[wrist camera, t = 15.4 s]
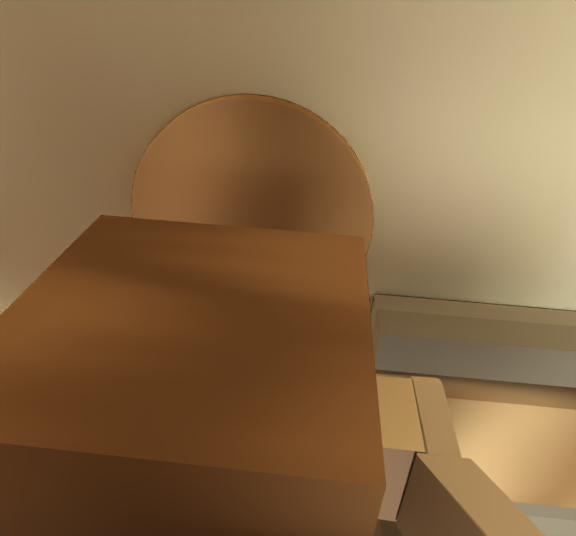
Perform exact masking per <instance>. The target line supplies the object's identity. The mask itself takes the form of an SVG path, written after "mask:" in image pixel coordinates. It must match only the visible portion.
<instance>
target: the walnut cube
mask: <svg viewBox="0 0 576 536" xmlns="http://www.w3.org/2000/svg"><path fill="white" fill-rule="evenodd" d="M385 489H386V478H385V467H384V456H383V445H382V434H381V423H380V412H379V401H378V391H377V380H376V369H375V358H374V347H373V336H372V325H371V314H370V303H369V292H368V281H367V271H366V260H365V249H364V238H363V237H359V236H347V235H335V234H323V233H311V232H299V231H287V230H275V229H262V228H250V227H238V226H226V225H214V224H202V223H190V222H178V221H166V220H153V219H141V218H129V217H117V216H105V215H101V216H100V217H99V218H98V219H97V220H96V221H95V222H94V223H93V224H92V225H91V226H90V227H89V228H88V229H86V230H85V231H84V232H83V233H82V234H81V235H80V236H79V237H78V238H77V239H76V240H75V241H74V242H73V243H72V244H71V245H70V246H69V247H68V248H67V249H66V250H65V251H64V252H63V253H62V254H61V255H60V256H59V257H58V258H57V259H56V260H55V261H54V262H53V263H52V264H51V265H50V266H49V267H48V268H47V269H46V270H45V271H44V272H43V273H42V274H41V275H40V276H39V277H38V278H37V279H36V280H35V281H34V282H33V283H32V284H31V285H30V286H29V287H28V288H27V289H26V290H25V291H24V292H23V293H22V294H21V295H20V296H19V297H18V298H17V299H16V300H15V301H14V302H13V303H12V304H11V305H10V306H9V307H8V308H7V309H6V310H5V311H4V312H3V313H2V314H1V315H0V536H373V535H374V531H375V527H376V523H377V520H378V516H379V512H380V508H381V504H382V501H383V497H384V493H385Z"/></svg>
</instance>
